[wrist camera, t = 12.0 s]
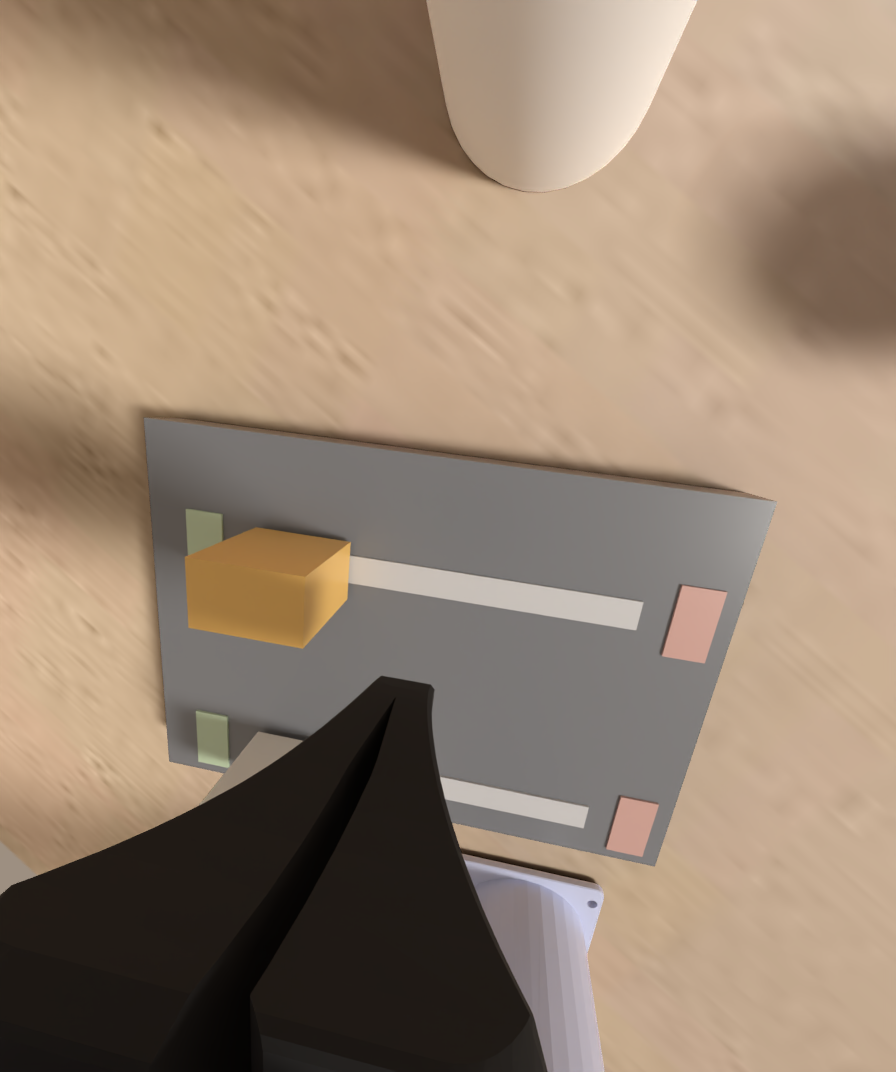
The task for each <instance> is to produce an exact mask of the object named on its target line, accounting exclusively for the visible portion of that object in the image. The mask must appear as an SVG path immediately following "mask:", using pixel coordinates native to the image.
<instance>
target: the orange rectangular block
mask: <svg viewBox="0 0 896 1072" xmlns="http://www.w3.org/2000/svg"><path fill="white" fill-rule="evenodd" d="M350 545H351V542H348V541H341V540H335V539H328V538H322V537H316V536H309V535H303V534H296V533H290V532H284V531H277V530H271V529H264V528H258V527H255V528H253V529H251V530H248V531H246V532H243V533H241V534H239V535H236V536H234V537H231V538H229V539H227V540H224V541H222V542H219V543H217V544H215V545H212V546H210V547H207V548H205V549H203V550H200V551H198V552H195V553H193V554H191V555H188V556H186V557H185V572H186V591H187V610H188V628H192V629H198V630H203V631H209V632H214V633H220V634H225V635H231V636H236V637H242V638H247V639H253V640H258V641H264V642H269V643H275V644H280V645H285V646H291V647H296V648H302V649H303V648H304V647H305V646H306V645H307V644H308V642H309V641H310V640H311V639H312V638H313V637H314V636H315V635H316V634H317V633H318V631H319V630H320V629H321V628H322V627H323V626H324V625H325V624H326V623H327V621H328V620H329V619H330V618H331V617H332V616H333V615H334V614H335V613H336V611H337V610H338V609H339V608H340V607H341V606H342V605H343V604H344V603H345V601H346V600H347V596H348V579H349V562H350Z"/></svg>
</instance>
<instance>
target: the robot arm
mask: <svg viewBox="0 0 896 1072" xmlns="http://www.w3.org/2000/svg"><path fill="white" fill-rule="evenodd" d="M434 691H435V689H434V688H433V687H432V685H431V684H426V683H420V682H415V681H409V680H404V679H398V678H393V677H387V676H380V677H379V678H377V679H376V680H375V681H374V682H373V683H372V684H371V685H370V686H369V687H367V688H366V689H365V690H364V691H363V692H362V693H361V694H360V695H359V696H358V697H357V698H355V699H354V700H353V701H352V702H351V703H350V704H349V705H347V706H346V707H345V708H344V709H343V710H342V711H340V712H339V713H338V714H337V715H336V716H334V717H333V718H332V719H331V720H330V721H328V722H327V723H326V724H325V725H324V726H322V727H321V728H320V729H319V730H317V731H316V732H315V733H313V734H312V735H311V736H309V737H308V738H307V739H305V740H304V741H303V742H301V743H300V744H299V745H297V746H296V747H295V748H293V749H292V750H290V751H289V752H288V753H286V754H285V755H283V756H282V757H280V758H279V759H278V760H276V761H275V762H273V763H272V764H270V765H269V766H267V767H265V768H264V769H262V770H261V771H259V772H258V773H256V774H254V775H253V776H251V777H250V778H248V779H246V780H245V781H243V782H241V783H240V784H238V785H236V786H234V787H233V788H231V789H229V790H227V791H225V792H223V793H221V794H220V795H218V796H216V797H214V798H212V799H210V800H208V801H207V802H205V803H203V804H201V805H199V806H197V807H196V808H194V809H192V810H190V811H188V812H186V813H184V814H182V815H180V816H178V817H176V818H174V819H171V820H169V821H167V822H165V823H163V824H161V825H159V826H157V827H155V828H153V829H150V830H148V831H146V832H144V833H141V834H139V835H137V836H135V837H132V838H130V839H128V840H126V841H123V842H121V843H119V844H116V845H114V846H112V847H109V848H107V849H105V850H102V851H100V852H97V853H95V854H92V855H89V856H87V857H84V858H82V859H79V860H77V861H74V862H71V863H69V864H66V865H64V866H61V867H59V868H56V869H53V870H51V871H48V872H46V873H43V874H41V875H38V876H35V877H33V878H30V879H27V880H25V881H22V882H19V883H16V884H14V885H11V886H10V887H9V888H8V889H7V890H6V891H5V892H3V893H2V894H1V895H0V1072H605V1071H604V1064H603V1058H602V1051H601V1044H600V1038H599V1031H598V1025H597V1018H596V1012H595V1005H594V998H593V992H592V985H591V979H590V972H589V965H588V959H587V953H588V950H589V946H590V943H591V940H592V936H593V933H594V930H595V926H596V923H597V920H598V916H599V913H600V910H601V906H602V903H603V900H604V894H603V890H602V888H601V886H599V885H598V884H596V883H592V882H587V881H583V880H578V879H574V878H569V877H565V876H560V875H556V874H551V873H547V872H542V871H538V870H533V869H529V868H525V867H520V866H516V865H511V864H507V863H502V862H498V861H493V860H489V859H484V858H480V857H475V856H471V855H466V854H462V853H461V850H460V847H459V844H458V841H457V838H456V835H455V832H454V829H453V825H452V822H451V818H450V815H449V811H448V808H447V804H446V800H445V797H444V792H443V788H442V784H441V779H440V774H439V770H438V764H437V759H436V753H435V745H434V738H433V729H432V707H433V699H434Z"/></svg>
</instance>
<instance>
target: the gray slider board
mask: <svg viewBox="0 0 896 1072" xmlns="http://www.w3.org/2000/svg"><path fill="white" fill-rule="evenodd" d="M144 427H145V441H146V454H147V468H148V481H149V495H150V508H151V522H152V535H153V549H154V562H155V576H156V589H157V603H158V616H159V630H160V643H161V657H162V670H163V684H164V697H165V711H166V724H167V738H168V751H169V761H170V762H174V763H179V764H183V765H188V766H193V767H197V768H202V769H207V770H211V771H216V772H220V773H225V772H226V771H227V770H228V768H229V767H230V766H231V765H232V763H233V762H234V761H235V760H236V758H237V757H238V756H239V755H240V753H241V752H242V751H243V750H244V748H245V747H246V746H247V745H248V743H249V742H250V741H251V740H252V738H253V737H254V736H255V735H256V734H257V732H263V733H268V734H273V735H278V736H283V737H288V738H292V739H297V740H302V741H304V740H305V739H307V738H308V737H309V736H311V735H312V734H313V733H315V732H316V731H317V730H319V729H320V728H321V727H322V726H324V725H325V724H326V723H327V722H328V721H330V720H331V719H332V718H333V717H334V716H336V715H337V714H338V713H339V712H340V711H342V710H343V709H344V708H345V707H346V706H347V705H349V704H350V703H351V702H352V701H353V700H354V699H355V698H357V697H358V696H359V695H360V694H361V693H362V692H363V691H364V690H365V689H366V688H367V687H369V686H370V685H371V684H372V683H373V682H374V681H375V680H376V679H377V678H379V677H380V676H387V677H393V678H398V679H404V680H409V681H415V682H420V683H426V684H431V685H432V687H433V688H434V689H435V691H434V699H433V707H432V729H433V738H434V745H435V753H436V759H437V764H438V770H439V774H440V779H441V784H442V788H443V792H444V797H445V800H446V804H447V808H448V811H449V815H450V818H451V822H452V823H456V824H461V825H465V826H470V827H475V828H479V829H484V830H489V831H493V832H498V833H502V834H507V835H512V836H516V837H521V838H525V839H530V840H535V841H539V842H544V843H549V844H553V845H558V846H562V847H567V848H572V849H576V850H581V851H586V852H590V853H595V854H599V855H604V856H609V857H613V858H618V859H623V860H627V861H632V862H636V863H641V864H646V865H650V866H655V864H656V861H657V858H658V855H659V852H660V849H661V846H662V843H663V840H664V837H665V834H666V831H667V828H668V825H669V822H670V819H671V816H672V813H673V810H674V808H675V805H676V802H677V799H678V796H679V793H680V790H681V787H682V784H683V781H684V778H685V775H686V772H687V769H688V766H689V763H690V760H691V757H692V754H693V751H694V748H695V745H696V742H697V739H698V736H699V733H700V730H701V727H702V724H703V721H704V718H705V715H706V712H707V709H708V706H709V703H710V700H711V697H712V694H713V691H714V688H715V686H716V683H717V680H718V677H719V674H720V671H721V668H722V665H723V662H724V659H725V656H726V653H727V650H728V647H729V644H730V641H731V638H732V635H733V632H734V629H735V626H736V623H737V620H738V617H739V614H740V611H741V608H742V605H743V602H744V599H745V596H746V593H747V590H748V587H749V584H750V581H751V578H752V575H753V572H754V569H755V566H756V564H757V561H758V558H759V555H760V552H761V549H762V546H763V543H764V540H765V537H766V534H767V531H768V528H769V525H770V522H771V519H772V516H773V513H774V510H775V507H776V504H777V502H776V501H773V500H769V499H766V498H762V497H759V496H755V495H752V494H749V493H744V492H736V491H729V490H721V489H714V488H706V487H699V486H691V485H683V484H676V483H668V482H661V481H653V480H646V479H638V478H630V477H623V476H615V475H608V474H600V473H593V472H585V471H577V470H570V469H562V468H555V467H547V466H540V465H532V464H524V463H517V462H509V461H502V460H494V459H487V458H479V457H471V456H464V455H456V454H449V453H441V452H434V451H426V450H418V449H411V448H403V447H396V446H388V445H381V444H373V443H365V442H358V441H350V440H343V439H335V438H328V437H320V436H312V435H305V434H297V433H290V432H282V431H275V430H267V429H259V428H252V427H244V426H237V425H229V424H222V423H214V422H206V421H199V420H191V419H184V418H144ZM255 527H258V528H264V529H271V530H277V531H284V532H290V533H296V534H303V535H309V536H316V537H322V538H328V539H335V540H341V541H348V542H351V545H350V562H349V579H348V596H347V600H346V601H345V603H344V604H343V605H342V606H341V607H340V608H339V609H338V610H337V611H336V613H335V614H334V615H333V616H332V617H331V618H330V619H329V620H328V621H327V623H326V624H325V625H324V626H323V627H322V628H321V629H320V630H319V631H318V633H317V634H316V635H315V636H314V637H313V638H312V639H311V640H310V641H309V642H308V644H307V645H306V646H305V647H304V648H303V649H302V648H296V647H291V646H285V645H280V644H275V643H269V642H264V641H258V640H253V639H247V638H242V637H236V636H231V635H225V634H220V633H214V632H209V631H203V630H198V629H192V628H188V610H187V591H186V572H185V557H186V556H188V555H191V554H193V553H195V552H198V551H200V550H203V549H205V548H207V547H210V546H212V545H215V544H217V543H219V542H222V541H224V540H227V539H229V538H231V537H234V536H236V535H239V534H241V533H243V532H246V531H248V530H251V529H253V528H255Z"/></svg>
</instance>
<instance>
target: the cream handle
mask: <svg viewBox="0 0 896 1072" xmlns="http://www.w3.org/2000/svg"><path fill="white" fill-rule="evenodd" d="M301 742H303V741H302V740H297V739H292V738H288V737H283V736H278V735H273V734H268V733H263V732H257V734H256V735H255V736H254V737H253V738H252V740H251V741H250V742H249V743H248V745H247V746H246V747H245V748H244V750H243V751H242V752H241V753H240V755H239V756H238V757H237V758H236V760H235V761H234V762H233V763H232V765H231V766H230V767H229V768H228V770H227V771H226V772H225V773H224V775H223V776H222V777H221V778H220V780H219V781H218V782H217V783H216V785H215V786H214V787H213V788H212V789H211V791H210V792H209V793H208V794H207V796H206V797H205V798H204V799H203V801H202V802H201V803H200V804H199V805H201V804H203V803H205V802H207V801H208V800H210V799H212V798H214V797H216V796H218V795H220V794H221V793H223V792H225V791H227V790H229V789H231V788H233V787H234V786H236V785H238V784H240V783H241V782H243V781H245V780H246V779H248V778H250V777H251V776H253V775H254V774H256V773H258V772H259V771H261V770H262V769H264V768H265V767H267V766H269V765H270V764H272V763H273V762H275V761H276V760H278V759H279V758H280V757H282V756H283V755H285V754H286V753H288V752H289V751H290V750H292V749H293V748H295V747H296V746H297V745H299V744H300V743H301Z"/></svg>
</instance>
